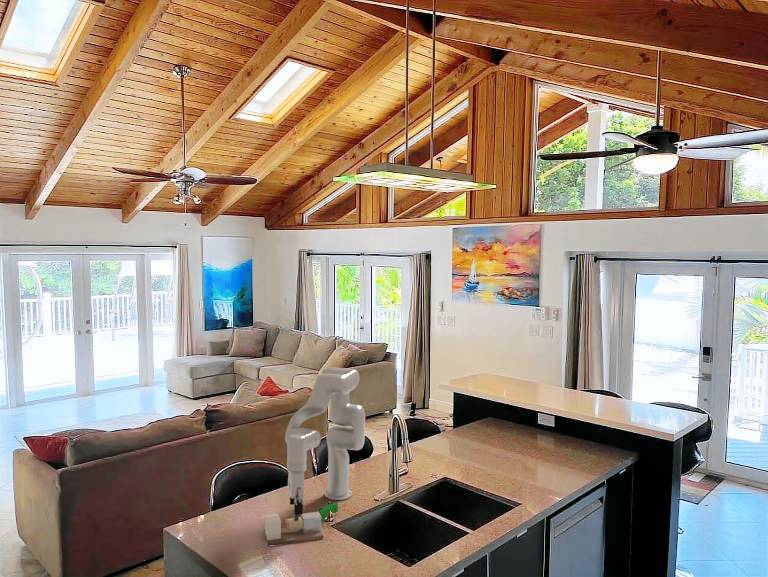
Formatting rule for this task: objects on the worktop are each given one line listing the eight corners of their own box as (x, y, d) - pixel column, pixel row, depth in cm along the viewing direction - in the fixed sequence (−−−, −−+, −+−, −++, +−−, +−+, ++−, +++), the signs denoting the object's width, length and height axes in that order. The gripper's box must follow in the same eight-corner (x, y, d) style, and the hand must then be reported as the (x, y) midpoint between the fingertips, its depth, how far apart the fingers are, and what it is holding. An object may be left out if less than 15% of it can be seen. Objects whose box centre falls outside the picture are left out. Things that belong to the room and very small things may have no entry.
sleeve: (301, 528, 229) (301, 513, 228) (318, 526, 231) (318, 511, 231) (303, 533, 224) (303, 519, 224) (321, 531, 226) (321, 516, 226)
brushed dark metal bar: (285, 526, 226) (285, 499, 225) (317, 522, 230) (318, 495, 229) (286, 530, 223) (286, 502, 222) (319, 525, 227) (319, 498, 227)
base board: (264, 532, 228) (264, 529, 228) (316, 525, 234) (316, 522, 234) (268, 546, 216) (268, 543, 216) (323, 538, 223) (323, 535, 223)
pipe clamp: (331, 511, 249) (331, 500, 248) (337, 513, 247) (338, 502, 246) (313, 520, 239) (314, 509, 239) (320, 522, 237) (320, 511, 237)
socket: (265, 531, 225) (265, 515, 225) (277, 530, 227) (278, 514, 227) (267, 540, 219) (267, 523, 218) (280, 538, 220) (280, 521, 220)
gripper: (283, 459, 231) (283, 501, 232) (291, 474, 215) (290, 519, 216) (302, 457, 234) (301, 499, 235) (310, 472, 218) (310, 517, 218)
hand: (296, 509), depth 225 cm, fingers open, 9 cm apart
